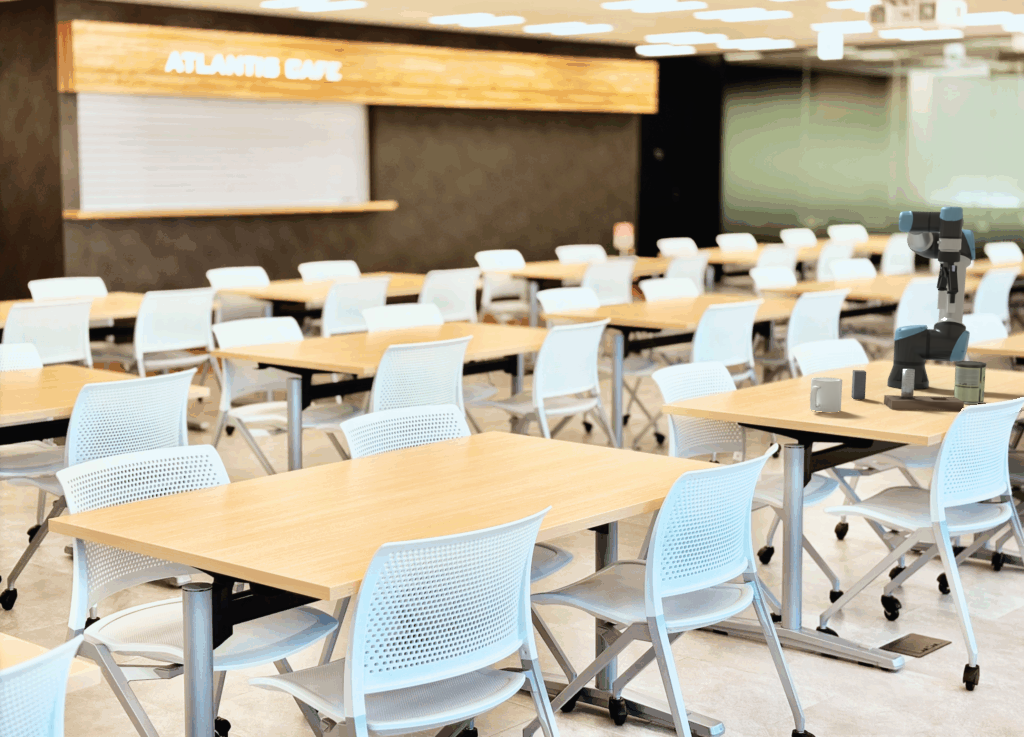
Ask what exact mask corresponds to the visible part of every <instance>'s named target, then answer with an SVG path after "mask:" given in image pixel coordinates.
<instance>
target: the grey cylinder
mask: <svg viewBox="0 0 1024 737" xmlns="http://www.w3.org/2000/svg"><path fill="white" fill-rule="evenodd" d="M914 376H915V370H914V369H903V372H902V388H901V395H900V396H901V399H908V400H913V396H914V393H915V392H914V391H915V389H914Z"/></svg>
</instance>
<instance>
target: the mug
mask: <svg viewBox="0 0 1024 737" xmlns="http://www.w3.org/2000/svg"><path fill="white" fill-rule="evenodd" d="M810 380H811V382H810V393H809V394H810V395H809V410H810V409H811V410H815V411H822V412H838V411H842V397H843V396H842V392H843V391H842V389H843V379H841V378H837V377H825V376H824V377H822V376H821V377H817V376H816V377H812V378H811V379H810Z"/></svg>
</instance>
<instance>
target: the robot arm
mask: <svg viewBox="0 0 1024 737" xmlns="http://www.w3.org/2000/svg"><path fill="white" fill-rule="evenodd" d="M963 217H964V210H963V207H961V206H942V207H941V208H940V211H918V210H917V211H914V210H904V211H901V212H900V213H899V216H898V230H899V231H900V232H902V233H906V234H907V237H906V243H907V246H908V248H909V249H910V250H911V251H912V252H913V253H915V254H916V255H919V256H921V257H923V258H926V259H934V260H937V261H938V262H939V264H940V265H939V273H938V278H937V283H936V289H937V304H936V305H937V306H936V307H937V308H936V309H937V310H939V311H938V321H936V322H935V323H934V324H933V329H931V328H928V326H927V325H926V324H913V325H904V326H899V327H897V328H896V329H895V332H894V338H893V341H894V344H893V346H894V347H893V360H892V361H893V362H892V367H891V370H890V373H889V375H888V378H887V386H888V387H891V388H898V389H902V372H903V369H914V370H915V376H914V390H921V389H928V388H929V386H930V380H929V376H928V373H927V368H926V360H927V361H938V362H939V361H943V362H951V363H953V362H958V361H965V360H964V359H965V358H966V355H967V352H968V348H969V347H968V346H969V341H970V331H969V330H967V326H966V325H965V324H964V323H963V316H964V304H965V288H966V277H967V276H966V275H967V268H968V267H969V266H971V264H972V261H975V260H976V244H975V234H974V232H973V230H971V229H963V227H964V218H963Z"/></svg>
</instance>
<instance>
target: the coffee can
mask: <svg viewBox="0 0 1024 737" xmlns="http://www.w3.org/2000/svg"><path fill="white" fill-rule="evenodd" d="M954 362H955V371H954V386H953V387H954V390H953V391H954V392H953V397H956V398H958V399H959V400H961V401H963V402H964V405H979V404H978V403H983V404H984V403H985V402H984V401H985V389H986V388H985V386H986V371H987V370H986V368H987V363H986V362H982V361H976V360H970V361H969V360H962V361H954Z"/></svg>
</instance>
